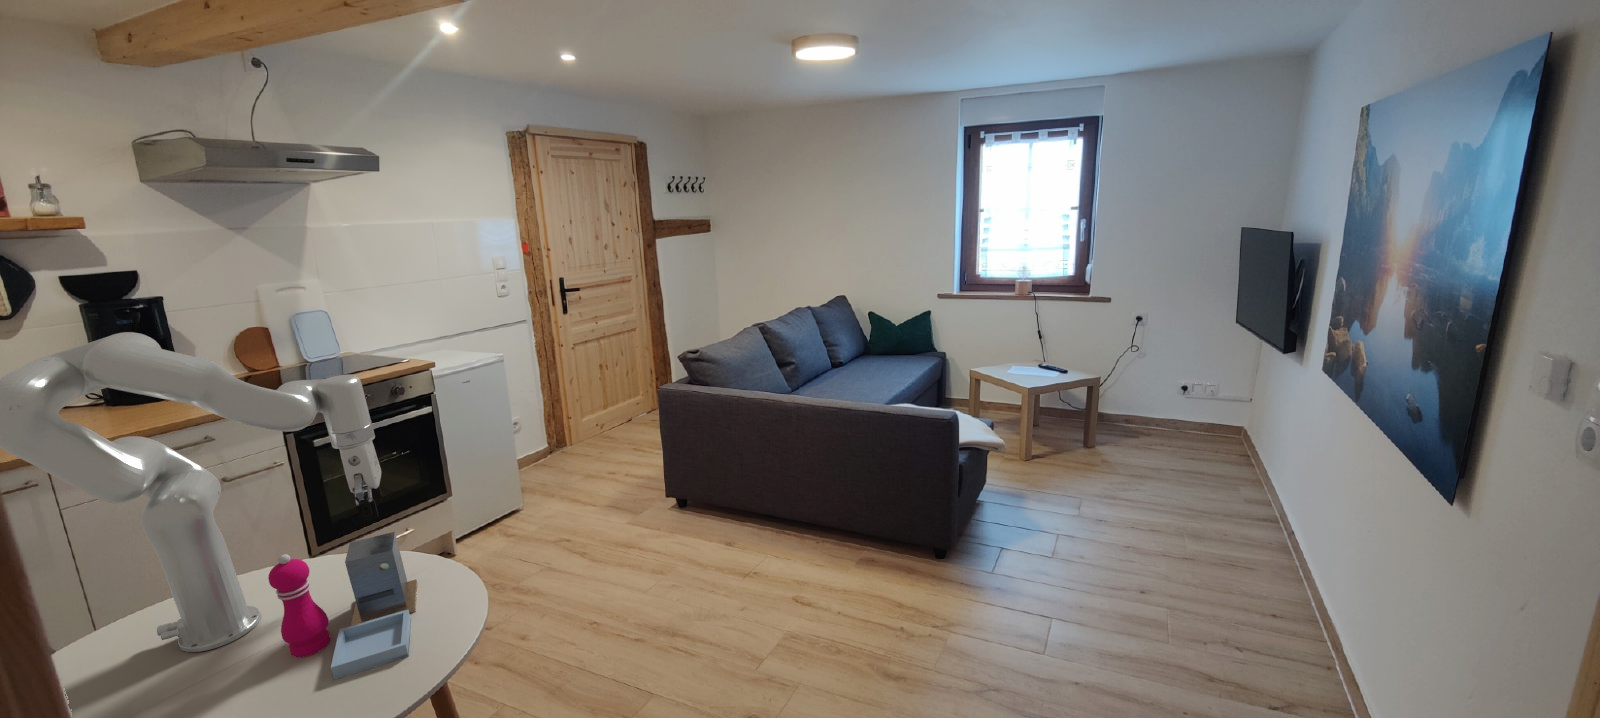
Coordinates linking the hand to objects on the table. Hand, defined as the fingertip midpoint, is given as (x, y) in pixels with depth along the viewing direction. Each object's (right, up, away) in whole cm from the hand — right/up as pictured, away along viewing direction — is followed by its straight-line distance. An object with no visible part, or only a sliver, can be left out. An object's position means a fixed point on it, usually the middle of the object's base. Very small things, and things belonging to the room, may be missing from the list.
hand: (371, 509), depth 142 cm
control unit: (+5, -19, -4) cm, 20 cm away
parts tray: (+11, -23, -16) cm, 30 cm away
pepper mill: (-2, -23, -15) cm, 27 cm away
